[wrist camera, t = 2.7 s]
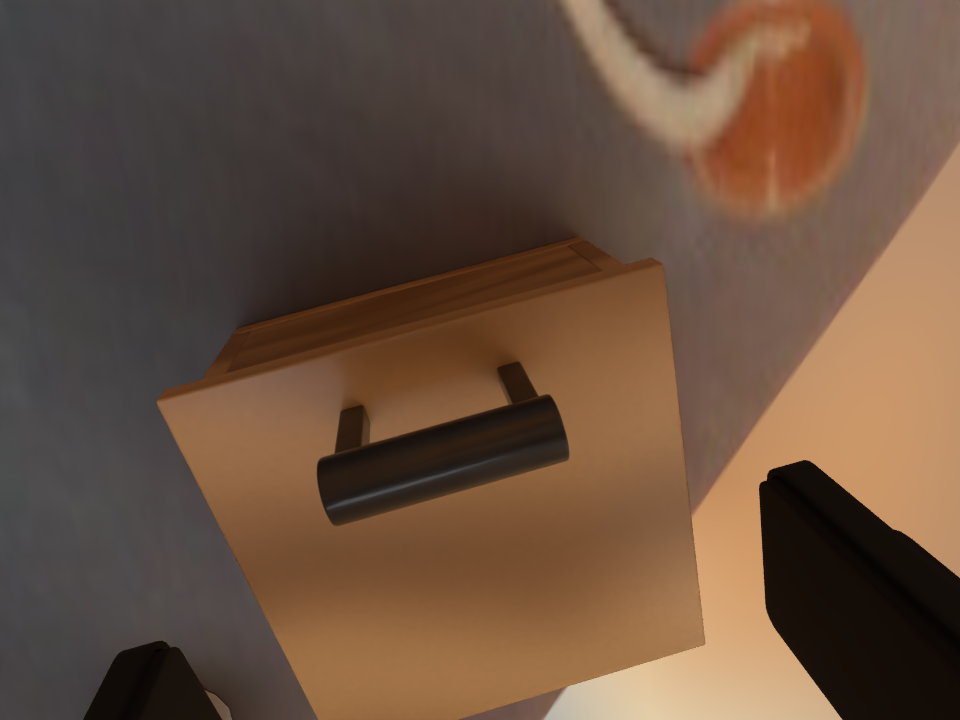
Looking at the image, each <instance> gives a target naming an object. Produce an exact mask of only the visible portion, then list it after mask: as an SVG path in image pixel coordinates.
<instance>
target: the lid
mask: <svg viewBox="0 0 960 720" xmlns="http://www.w3.org/2000/svg"><path fill="white" fill-rule="evenodd" d="M156 402H157V405H158V407H159V409H160V411H161V413H162V415H163V417H164V419H165V421H166V423H167V425H168V427H169V429H170V431H171V433H172V435H173V437H174V439H175V441H176V443H177V445H178V446H179V448H180V450H181V452H182V454H183V456H184V458H185V460H186V462H187V464H188V466H189V468H190V470H191V472H192V474H193V476H194V478H195V480H196V482H197V484H198V486H199V488H200V490H201V491H202V493H203V495H204V497H205V499H206V501H207V503H208V505H209V507H210V509H211V511H212V513H213V515H214V517H215V519H216V521H217V523H218V525H219V527H220V529H221V531H222V533H223V534H224V536H225V538H226V540H227V542H228V544H229V546H230V548H231V550H232V552H233V554H234V556H235V558H236V560H237V562H238V564H239V566H240V568H241V570H242V572H243V574H244V576H245V578H246V579H247V581H248V583H249V585H250V587H251V589H252V591H253V593H254V595H255V597H256V599H257V601H258V603H259V605H260V607H261V609H262V611H263V613H264V615H265V617H266V619H267V621H268V622H269V624H270V626H271V628H272V630H273V632H274V634H275V636H276V638H277V640H278V642H279V644H280V646H281V648H282V650H283V652H284V654H285V656H286V658H287V660H288V662H289V664H290V666H291V667H292V669H293V671H294V673H295V675H296V677H297V679H298V681H299V683H300V685H301V687H302V689H303V691H304V693H305V695H306V697H307V699H308V701H309V703H310V705H311V707H312V709H313V710H314V712H315V714H316V716H317V718H318V720H458V719H462V718H465V717H468V716H472V715H475V714H478V713H482V712H485V711H488V710H491V709H495V708H498V707H501V706H505V705H508V704H511V703H514V702H518V701H521V700H524V699H528V698H531V697H534V696H538V695H541V694H544V693H547V692H551V691H554V690H557V689H561V688H564V687H567V686H570V685H574V684H577V683H580V682H583V681H587V680H590V679H593V678H597V677H600V676H603V675H607V674H610V673H613V672H617V671H620V670H623V669H627V668H630V667H633V666H636V665H640V664H643V663H646V662H649V661H653V660H656V659H659V658H663V657H666V656H669V655H672V654H676V653H679V652H683V651H686V650H689V649H692V648H696V647H699V646H702V645H704V644H705V636H704V628H703V618H702V609H701V600H700V591H699V583H698V573H697V564H696V555H695V546H694V537H693V528H692V519H691V510H690V501H689V492H688V483H687V474H686V465H685V456H684V447H683V438H682V429H681V420H680V411H679V402H678V393H677V384H676V375H675V366H674V357H673V348H672V339H671V330H670V321H669V312H668V303H667V294H666V285H665V276H664V267H663V264H662V263H661V262H659V261H657V260H655V259H653V258H648V259H645V260H641V261H637V262H634V263H630V264H626V265H623V266H619V267H615V268H611V269H608V270H604V271H600V272H597V273H593V274H589V275H586V276H582V277H578V278H575V279H571V280H567V281H564V282H560V283H556V284H553V285H549V286H545V287H542V288H538V289H534V290H531V291H527V292H523V293H519V294H516V295H512V296H508V297H505V298H501V299H497V300H494V301H490V302H486V303H483V304H479V305H475V306H472V307H468V308H464V309H461V310H457V311H453V312H450V313H446V314H442V315H439V316H435V317H431V318H427V319H424V320H420V321H416V322H413V323H409V324H405V325H402V326H398V327H394V328H391V329H387V330H383V331H380V332H376V333H372V334H369V335H365V336H361V337H358V338H354V339H350V340H346V341H343V342H339V343H335V344H332V345H328V346H324V347H321V348H317V349H313V350H310V351H306V352H302V353H299V354H295V355H291V356H288V357H284V358H280V359H277V360H273V361H269V362H266V363H262V364H258V365H254V366H251V367H247V368H243V369H240V370H236V371H232V372H229V373H225V374H221V375H218V376H214V377H210V378H207V379H203V380H199V381H196V382H192V383H188V384H185V385H181V386H177V387H174V388H170V389H166V390H165V391H164V392H163V393H162V395H161V396H160V397H159V398H158V400H157V401H156Z"/></svg>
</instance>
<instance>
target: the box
mask: <svg viewBox="0 0 960 720" xmlns="http://www.w3.org/2000/svg"><path fill="white" fill-rule="evenodd" d="M623 265H624V264H622V263H621V262H619V261H618V260H616V259H614V258H613V257H611V256H610V255H608V254H607V253H605V252H603V251H602V250H600V249H599V248H597V247H595V246H594V245H592V244H591V243H589V242H587V241H585V240H584V239H583V238H581V237H576V238H572V239H568V240H565V241H561V242H557V243H554V244H550V245H546V246H542V247H539V248H535V249H531V250H528V251H524V252H520V253H516V254H513V255H509V256H505V257H501V258H498V259H494V260H490V261H487V262H483V263H479V264H475V265H472V266H468V267H464V268H460V269H457V270H453V271H449V272H446V273H442V274H438V275H434V276H431V277H427V278H423V279H420V280H416V281H412V282H408V283H405V284H401V285H397V286H393V287H390V288H386V289H382V290H379V291H375V292H371V293H367V294H364V295H360V296H356V297H352V298H349V299H345V300H341V301H338V302H334V303H330V304H326V305H323V306H319V307H315V308H312V309H308V310H304V311H300V312H297V313H293V314H289V315H285V316H282V317H278V318H274V319H271V320H267V321H263V322H259V323H256V324H252V325H248V326H244V327H241V328H237V329H236V330H235V332H234V333H233V334H232V336H231V337H230V339H229V340H228V342H227V343H226V345H225V346H224V348H223V349H222V351H221V352H220V354H219V355H218V356H217V358H216V359H215V361H214V362H213V364H212V365H211V367H210V368H209V370H208V371H207V373H206V374H205V376H204V377H203V378H202V380H203V379H207V378H210V377H214V376H218V375H221V374H225V373H229V372H232V371H236V370H240V369H243V368H247V367H251V366H254V365H258V364H262V363H266V362H269V361H273V360H277V359H280V358H284V357H288V356H291V355H295V354H299V353H302V352H306V351H310V350H313V349H317V348H321V347H324V346H328V345H332V344H335V343H339V342H343V341H346V340H350V339H354V338H358V337H361V336H365V335H369V334H372V333H376V332H380V331H383V330H387V329H391V328H394V327H398V326H402V325H405V324H409V323H413V322H416V321H420V320H424V319H427V318H431V317H435V316H439V315H442V314H446V313H450V312H453V311H457V310H461V309H464V308H468V307H472V306H475V305H479V304H483V303H486V302H490V301H494V300H497V299H501V298H505V297H508V296H512V295H516V294H519V293H523V292H527V291H531V290H534V289H538V288H542V287H545V286H549V285H553V284H556V283H560V282H564V281H567V280H571V279H575V278H578V277H582V276H586V275H589V274H593V273H597V272H600V271H604V270H608V269H611V268H615V267H619V266H623Z"/></svg>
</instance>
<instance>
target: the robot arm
mask: <svg viewBox="0 0 960 720" xmlns="http://www.w3.org/2000/svg"><path fill="white" fill-rule="evenodd" d="M759 495H760V512H761V513H760V514H761V531H762V549H763V567H764V585H765V603H766V610H767V613H768V616H769V618H770V620H771V622H772V624H773V626H774V628H775V629H776V631H777V632H778V633H779V635H780V636H781V637H782V639H783V640H784V642H785V643H786V644H787V646H788V647H789V648H790V650H791V651H792V652H793V654H794V655H795V656H796V658H797V659H798V660H799V662H800V663H801V664H802V666H803V667H804V668H805V670H806V671H807V672H808V674H809V675H810V677H811V678H812V679H813V680H814V682H815V683H816V685H817V686H818V687H819V688H820V690H821V691H822V693H823V694H824V695H825V697H826V698H827V699H828V701H829V702H830V703H831V705H832V706H833V707H834V709H835V710H836V712H837V713H838V714H839V716H840V717H841V718H842V720H960V578H959V577H958V576H956V575H955V574H954V573H953V572H951V571H950V570H949V569H948V568H947V567H946V566H944V565H943V564H942V563H941V562H939V561H938V560H937V559H936V558H934V557H933V556H932V555H931V554H930V553H928V552H927V551H926V550H925V549H924V548H922V547H921V546H920V545H919V544H917V543H916V542H915V541H914V540H913V539H911V538H910V537H908V536H907V535H905V534H903V533H902V532H900V531H897V530H893V529H892V528H891V527H889V526H888V525H887V524H886V523H885V522H883V521H882V520H881V519H880V518H879V517H877V516H876V515H875V514H874V513H873V512H871V511H870V510H869V509H868V508H867V507H865V506H864V505H863V504H862V503H860V502H859V501H858V500H857V499H856V498H854V497H853V496H852V495H851V494H850V493H848V492H847V491H846V490H845V489H844V488H842V487H841V486H840V485H839V484H837V483H836V482H835V481H834V480H833V479H831V478H830V477H829V476H828V475H827V474H826V473H824V472H823V471H822V470H821V469H819V468H818V467H817V466H816V465H815V464H813V463H811V462H810V461H806V460H803V461H799V462H796V463H793V464H789V465H785V466H782V467H778V468H775V469H772V470H770V471H769V473H768V475H767V481H764V482H762V483H760V486H759ZM83 720H222V718H221V717H220V715H219V713H218V712H217V710H216V708H215V707H214V705H213V703H212V702H211V700H210V698H209V696H208V695H207V693H206V691H205V690H204V688H203V686H202V685H201V683H200V681H199V680H198V678H197V676H196V675H195V673H194V671H193V670H192V668H191V666H190V665H189V663H188V661H187V660H186V658H185V656H184V655H183V653H182V652H181V650H180V649H179V648H177V647H172V648H170V646H169V645H168V644H167V643H166V642H164V641H156V642H153V643H149V644H146V645H142V646H139V647H135V648H131V649H128V650H124V651H122V652H121V653H119V654H118V655H117V656H116V658H115V659H114V661H113V662H112V664H111V666H110V668H109V670H108V672H107V674H106V676H105V678H104V680H103V682H102V684H101V686H100V688H99V690H98V692H97V694H96V696H95V698H94V700H93V701H92V703H91V705H90V707H89V709H88V711H87V713H86V715H85V717H84V719H83Z"/></svg>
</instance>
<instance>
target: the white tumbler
mask: <svg viewBox="0 0 960 720" xmlns="http://www.w3.org/2000/svg"><path fill="white" fill-rule="evenodd" d="M205 691H206V690H205ZM206 693H207V695H208V696H209V698H210V700H211V702H212V703H213V705H214V707H215V708H216V710H217V712H218V713H219V715H220V717H221V718H222V720H232V717H231V714H230V710H229V708H228V707H227V706H226V705H225V704H224V703H223V702H222V701H221V700H220V699H219V698H218V697H217V696H216V695H215V694H212V693H210V692H208V691H206Z"/></svg>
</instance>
